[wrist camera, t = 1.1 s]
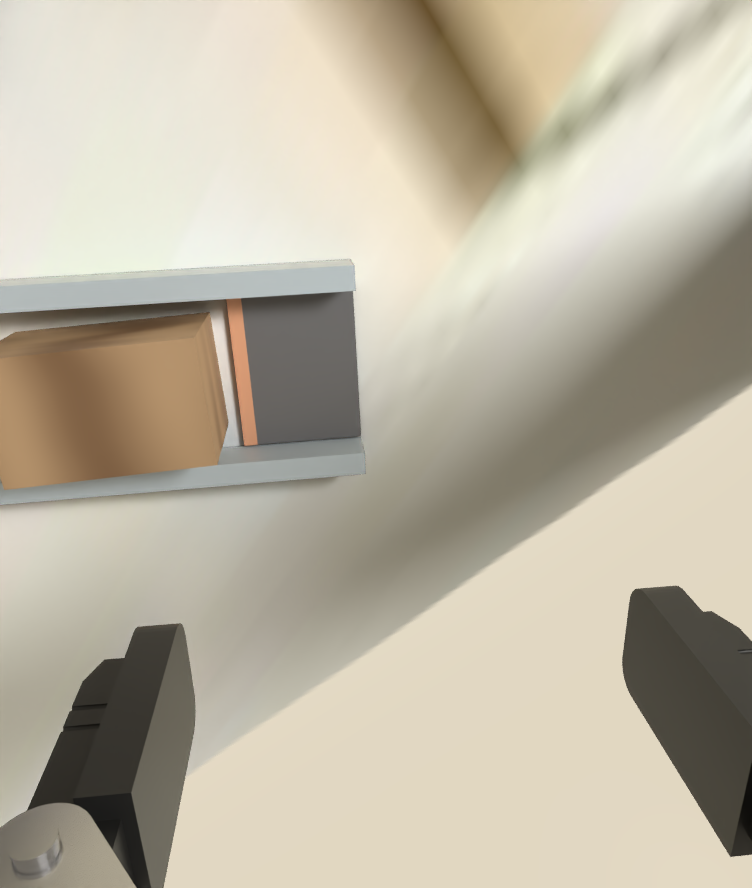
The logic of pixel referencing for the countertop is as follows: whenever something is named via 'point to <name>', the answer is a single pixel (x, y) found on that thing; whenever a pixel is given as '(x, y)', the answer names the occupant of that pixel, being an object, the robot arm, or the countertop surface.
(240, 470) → the guide channel
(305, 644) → the countertop surface
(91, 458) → the walnut block
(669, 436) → the countertop surface
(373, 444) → the countertop surface
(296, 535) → the countertop surface
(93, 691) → the robot arm
